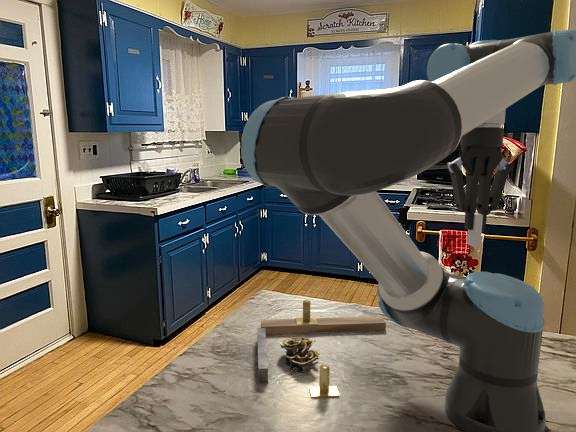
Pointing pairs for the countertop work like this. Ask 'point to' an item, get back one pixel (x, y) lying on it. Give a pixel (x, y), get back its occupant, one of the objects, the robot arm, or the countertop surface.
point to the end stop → (262, 356)
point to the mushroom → (299, 354)
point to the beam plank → (322, 324)
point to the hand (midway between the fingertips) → (473, 245)
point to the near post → (324, 385)
